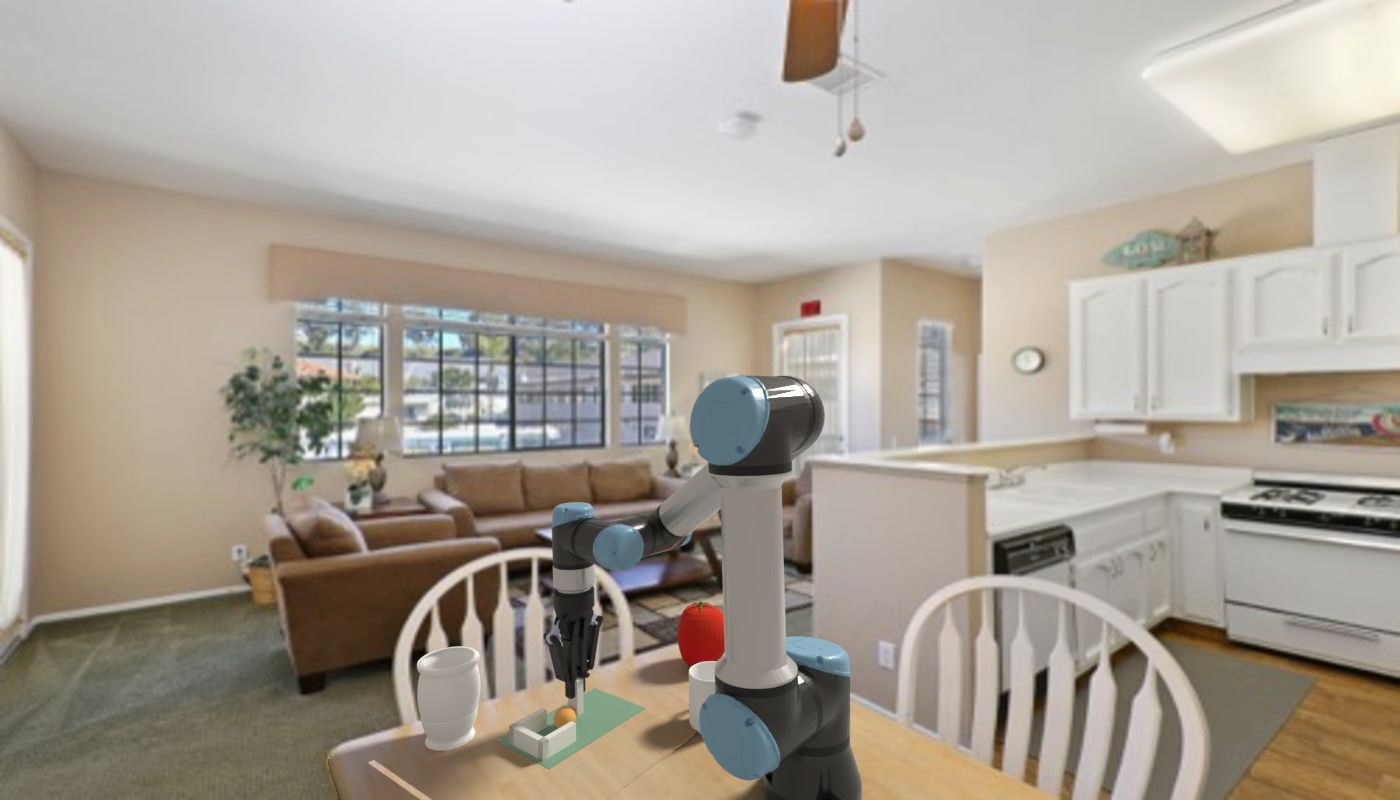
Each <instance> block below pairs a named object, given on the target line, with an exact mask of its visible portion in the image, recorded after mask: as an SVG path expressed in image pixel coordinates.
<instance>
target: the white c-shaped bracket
mask: <svg viewBox="0 0 1400 800" xmlns="http://www.w3.org/2000/svg"><path fill="white" fill-rule="evenodd" d="M547 714H548V710H547V709H545V708H543V707H542V708H540V709H538V710H536V711H535V712H532V713H531V714H528V715H527V716H525V717H523V718H521V719H519V720H517V721H515V722H513V723H511V724H510V725H509V726H508V730H509V731H508V733H509V734H508V735H509V744H511V745H513V746H515V747H517V748H519V749H521V750H523V751H524V752H526V753H528V754H530V755H532V756H534V757H536V758H538V759H540V760H542V761H544V760H546V759H548V758H549V757H551V756H553V755H554V754H556V753H558V752H559V751H561V750H562V749H564V748H566V747H567V746H569V745H571V744H572V743H574V742H576V723H574V722H572V721H571V722H569V723H567V724H566V725H564V726H562V727H560V728H559V729H557V730H555V731H553V732H552V733H550V734H548V735H546V736H545V737H543V736H541V735H539V734H537V733H538V732H539V731H541V730H543V729H545V728H546V727H547Z"/></svg>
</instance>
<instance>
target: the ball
mask: <svg viewBox="0 0 1400 800" xmlns="http://www.w3.org/2000/svg"><path fill="white" fill-rule="evenodd" d="M562 706H563V705H562ZM559 707H560V708H559ZM559 707H558V708H559V709H558V710H557V711H556V712H555V714H554V724H555V726H556V727H557V728H558V729H559V728H560V727H562V726H564V725H566V724H567V723H569V722H571V721H572V722H574V723H575V720H576V714H575V711H574V710H573V709H572V708H571V707H569V706H563V707H561V706H559Z"/></svg>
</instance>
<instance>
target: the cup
mask: <svg viewBox="0 0 1400 800" xmlns="http://www.w3.org/2000/svg"><path fill="white" fill-rule="evenodd" d="M717 662H718V661H717ZM717 662H716V661H706V662H700V663H697V664H695V665H693V666H692V667H689V669H688V716H689V717H688V719H689V720H688V721H689V724H690V727H692V728H693V729H694V730H695V731H696V733H697V734H699V735H701V731H700V726H699V712H700V708H701V706H702V704H703V703H704V702H705V701H706V699H707V698H708V696H710V695H712V694H715V665H716V663H717Z"/></svg>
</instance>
